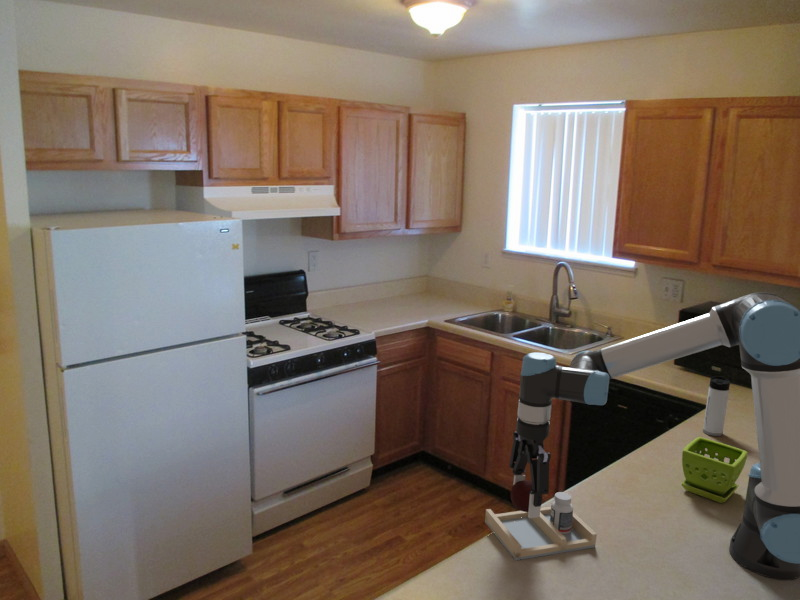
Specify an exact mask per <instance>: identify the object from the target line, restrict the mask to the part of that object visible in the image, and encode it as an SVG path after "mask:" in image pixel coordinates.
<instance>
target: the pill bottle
mask: <svg viewBox="0 0 800 600" xmlns="http://www.w3.org/2000/svg"><path fill="white" fill-rule="evenodd" d="M553 499H554V500H553V501H552V503H551V506H550V507H551V514H550V522H551V523H552V524H553V525H554V527H555V528H556V529H557V530H558V531H559V532H560V533H561V534H567V533H569V532H571V528H572V517H573V512H574V506H573V504H572V496H571V494H570V493H567V492H563V491H558V492H556V493H555V494H554V498H553Z"/></svg>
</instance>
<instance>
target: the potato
mask: <svg viewBox="0 0 800 600" xmlns="http://www.w3.org/2000/svg"><path fill="white" fill-rule="evenodd" d="M530 491H533V490H532V480H525V481H518V482H516V483H515V484H514V485H513V484H512V486H511V490H510V500H511V502H512V503H511V504H512V505H513V506H514V508H515V509H517V511H523V512H528V510H529V499H530ZM542 503H543V501H542V502H541V504H542Z"/></svg>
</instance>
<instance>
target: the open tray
mask: <svg viewBox="0 0 800 600" xmlns="http://www.w3.org/2000/svg"><path fill="white" fill-rule="evenodd" d="M550 514H551V506H544V507H541V509H540V517H536V518H529V517H528V512H523V511H520V510H517V511H509V512H502V513H494V511H493V510H492V509H491V508H487V509H485V518H484V523H485V524H486V525H487V526H488V528H489V529H490V530H491V532H492V533H493V534H494V535H495V536H496V538H497V539H498V540H499V541H500V543H501V545H503V547H504V548H505V549H506V551H507V552H508V553H509V554H510V555H511V557H512V556H513V557H514V558H513V557H512V558H513V560H515V561H520V559H521V560H526V559H531V558H532V559H533V558H537V557H538V558H539V557H545V556H550V555H551V556H552V555H556V554H562V553H568V552H574V551H580V550H586V549H591V548H592V549H593V548H596V543H597V534H598V533H596V532H595V531H594V529H592V528H591V527H590V526H589V525H588V524H587V523H586V522H585V521H583V519H581V518H580V517H579V516H578V515H577V514H576V513H575V512H574V511H573V517H572V528H571V532H569V533H567V534H561V533H560V532H559V531H558V530H557V529H556V528H555V527H554V525H553V524H552V523H551V522H550ZM521 517H522V518H521ZM514 521H515V522H514ZM507 525H508V526H507ZM494 532H495V533H494Z"/></svg>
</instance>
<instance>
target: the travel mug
mask: <svg viewBox="0 0 800 600" xmlns="http://www.w3.org/2000/svg"><path fill="white" fill-rule="evenodd" d="M730 385H731V381H730V379H728V378H726V377H725V376H723V375H722V376H720V375H718V376H712V377H710V379H709V386H708V390H707V398H706V406H705V413H704V420H703V426H702V427H703V428H702V431H703V433H704V434H706V435H708V436H711V437H721V436H723V434H724V426H725V422H726V421H725V420H726V414H727V408H728V399H729V393H730Z"/></svg>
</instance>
